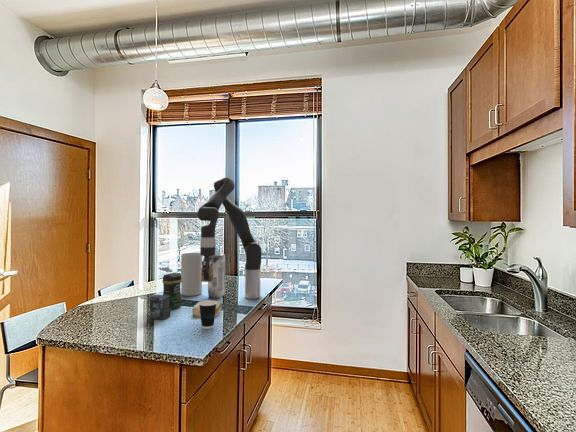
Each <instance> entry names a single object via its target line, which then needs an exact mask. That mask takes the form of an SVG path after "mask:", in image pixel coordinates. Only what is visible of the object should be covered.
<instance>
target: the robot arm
mask: <svg viewBox="0 0 576 432" xmlns="http://www.w3.org/2000/svg"><path fill="white" fill-rule="evenodd" d="M235 185H236V184H235V182H234V180H233V179H232V178H231V176H230V177H229V176H225V177H222V178H219V179H218V180H216V181H215V182H213V188H214V191H215V192H214V193H213V194H212V195H211V196H210V198H209V199H208V201H207V202H205V203H204V204H202V205H201V206H200V207H199V208H198V210H197V215H196V216H197V218H198V219H199V220H200V221H202V222H209V224H207V225H205V224H204V225H202V226H201V227H200V228H201V229H200V242H199V243H200V245H199V246H200V249H199V250H200V252H199V253H200V255H201V256H202V257H203V258H202V272H203V273H204V280H208V279H209V268H210V267H212V266H213V258H212V257H211V256H214V255H215V252H216V227H217V223H218V220H219V217H220V216H219V215H220V212H219V210H220V208H221V206H222V205H223V208H224V209H225V211H226V214H227V216H228V217H229V220H230V222H231V224H232V227H233V228H234V231H235V232H236V235H237V236H238V237H239V239H240V242H241V245H242V247H243V251H244V253H245V264H244V265H245V267H244V298H246V299H250V300H251V299H261V266H262V248H261V246H260V244H258V243H257V242H256V240H255V239H254V236H253V235H252V232H251V230H250V224H249V222H248V221H249V220H248V219H247V217H246V214H245V212H244V211H243V209H242V208H241V207H239V206H238V205H236V204H235V203H233V202H232V200H230V199H229V195H230V194H231V193H232V192H233V191H234V190H235ZM210 264H211V265H210ZM205 268H206V270H205Z"/></svg>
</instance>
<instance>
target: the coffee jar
mask: <svg viewBox="0 0 576 432" xmlns="http://www.w3.org/2000/svg"><path fill="white" fill-rule="evenodd" d="M181 280H182V279H181V273H179V272H171V273H166V274H163V276H162V284H163V290H162V291H163V293H162V295H166V296H170V311H171V310H174V309H175V310H176V309H178V308H180V307H181V306H182V294H181Z"/></svg>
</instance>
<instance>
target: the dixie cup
mask: <svg viewBox="0 0 576 432" xmlns="http://www.w3.org/2000/svg"><path fill="white" fill-rule="evenodd" d="M198 302H199V301H198ZM216 304H217V302H216V300H209V299H208V300H201V302H199V305H200V315H201V316H200V323H201V327H202V329H204V330H206V329H207V330H208V329H209V330H210V329H212V328H214V325H215V317H216V316H215V310H216Z"/></svg>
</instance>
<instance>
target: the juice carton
mask: <svg viewBox="0 0 576 432" xmlns="http://www.w3.org/2000/svg"><path fill="white" fill-rule="evenodd" d="M211 257H212V258H213V266H214V272H213V281H212V282H207V294H208V298H210V299H221V298H222V297H223V296H224V295H225V293H226V254H225V253H217V252H216V251H215V255H214V256H211ZM210 265H211V264H210Z"/></svg>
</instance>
